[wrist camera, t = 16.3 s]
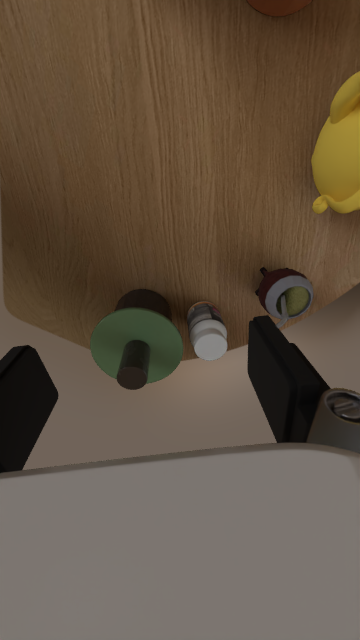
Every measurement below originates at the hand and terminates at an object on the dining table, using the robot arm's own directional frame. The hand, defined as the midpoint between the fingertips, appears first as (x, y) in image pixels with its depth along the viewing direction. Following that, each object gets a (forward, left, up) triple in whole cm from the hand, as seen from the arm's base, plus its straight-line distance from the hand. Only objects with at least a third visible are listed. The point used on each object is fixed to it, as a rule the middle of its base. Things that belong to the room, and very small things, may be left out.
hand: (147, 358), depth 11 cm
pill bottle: (+15, -3, -29) cm, 32 cm away
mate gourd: (+17, +9, -29) cm, 34 cm away
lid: (+8, -11, -19) cm, 23 cm away
